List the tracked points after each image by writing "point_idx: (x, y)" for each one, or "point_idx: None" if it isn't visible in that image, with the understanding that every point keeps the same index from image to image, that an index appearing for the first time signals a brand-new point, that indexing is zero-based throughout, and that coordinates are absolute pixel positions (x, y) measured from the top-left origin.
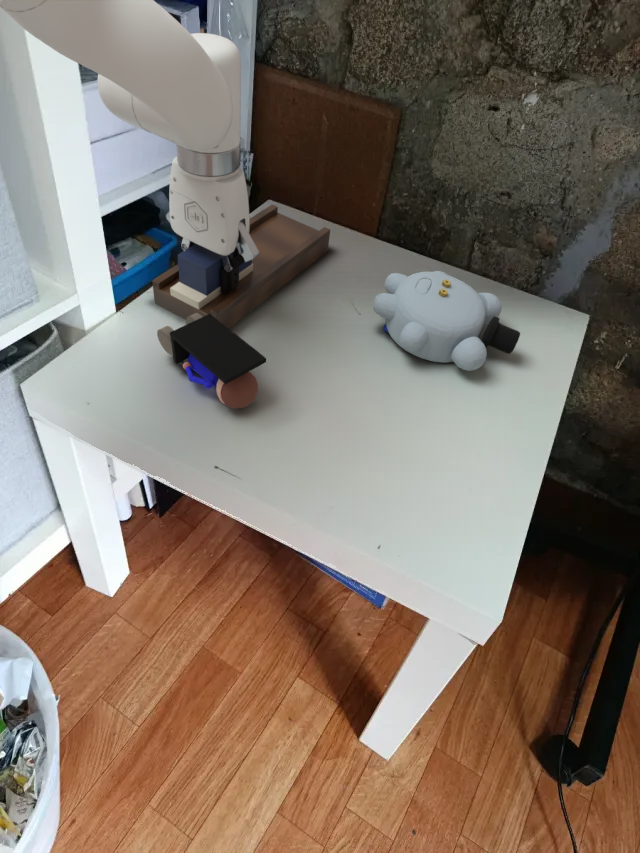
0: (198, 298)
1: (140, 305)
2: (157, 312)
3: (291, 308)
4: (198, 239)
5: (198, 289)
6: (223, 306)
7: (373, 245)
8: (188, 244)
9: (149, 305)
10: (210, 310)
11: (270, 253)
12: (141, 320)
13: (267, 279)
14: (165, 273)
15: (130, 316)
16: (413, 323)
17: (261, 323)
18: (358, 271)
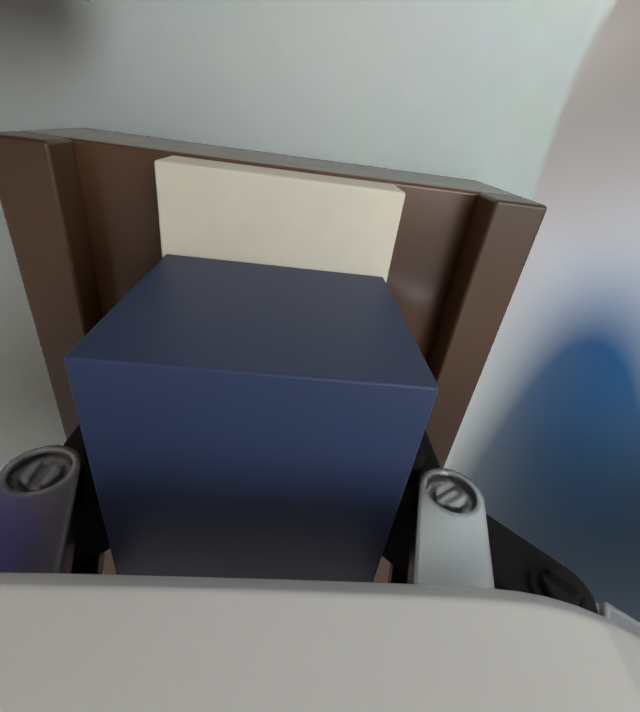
0: (185, 199)
1: (536, 131)
2: (437, 130)
3: (34, 437)
4: (200, 682)
5: (229, 265)
6: (23, 228)
7: None
8: (424, 524)
9: (496, 157)
10: (48, 143)
11: None
12: (483, 10)
13: None
14: (497, 305)
15: (553, 6)
16: None
17: (33, 321)
18: None
